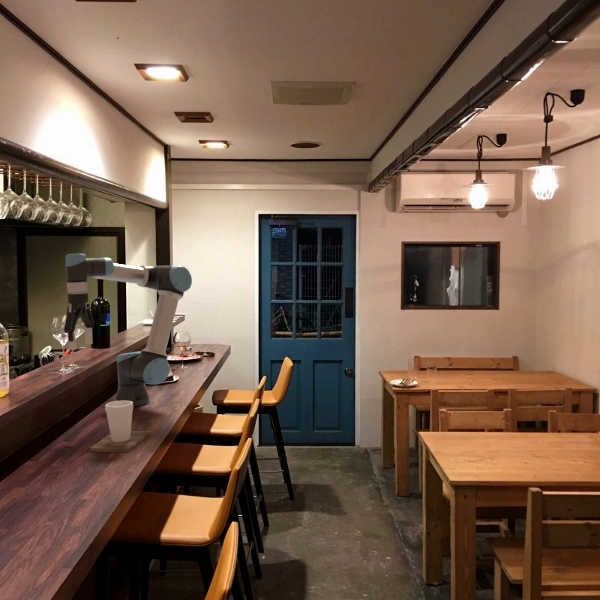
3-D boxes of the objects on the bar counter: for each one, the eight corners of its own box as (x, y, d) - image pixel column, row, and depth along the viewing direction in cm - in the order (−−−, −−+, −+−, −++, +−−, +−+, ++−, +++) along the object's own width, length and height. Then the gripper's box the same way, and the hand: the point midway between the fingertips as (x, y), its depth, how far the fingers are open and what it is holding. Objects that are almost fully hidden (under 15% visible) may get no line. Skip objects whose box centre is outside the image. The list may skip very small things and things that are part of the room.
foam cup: (106, 444, 214) (104, 408, 212) (107, 436, 222) (105, 402, 221) (134, 441, 216) (133, 405, 215) (134, 434, 225) (132, 399, 224)
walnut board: (114, 433, 230) (114, 430, 230) (150, 434, 228) (150, 431, 228) (89, 451, 210) (89, 448, 210) (128, 452, 209) (128, 448, 208)
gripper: (83, 290, 251) (87, 341, 253) (51, 295, 227) (55, 352, 229) (101, 290, 250) (104, 341, 252) (70, 295, 226) (74, 352, 228)
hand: (81, 346), depth 240 cm, fingers open, 13 cm apart
